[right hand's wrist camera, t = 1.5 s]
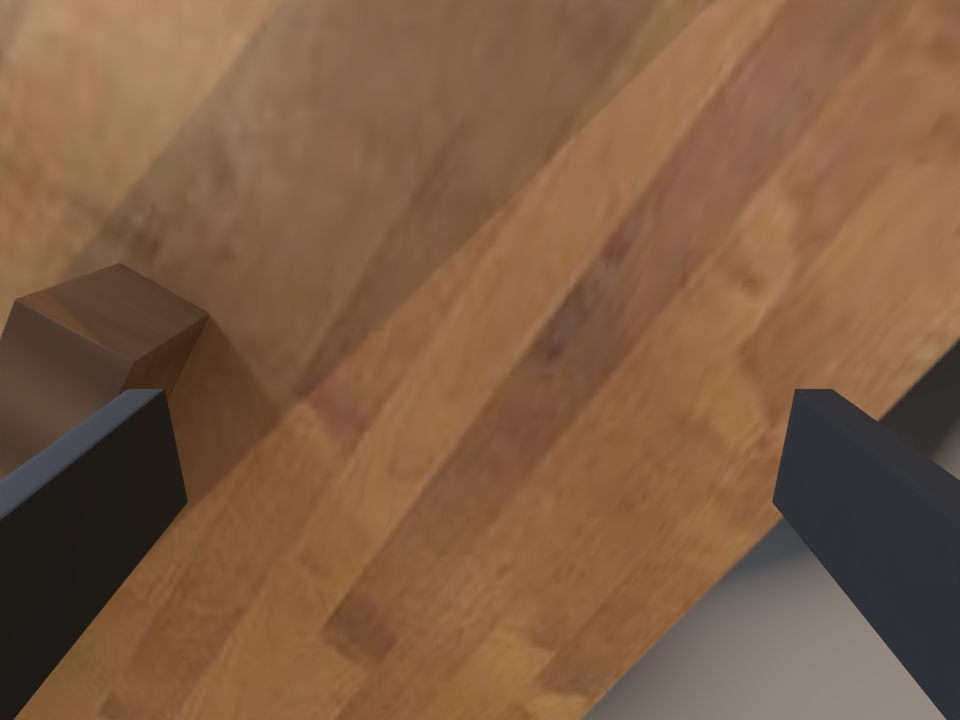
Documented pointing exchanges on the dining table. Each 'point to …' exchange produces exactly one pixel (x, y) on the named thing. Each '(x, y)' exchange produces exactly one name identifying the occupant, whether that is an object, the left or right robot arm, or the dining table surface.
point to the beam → (86, 354)
